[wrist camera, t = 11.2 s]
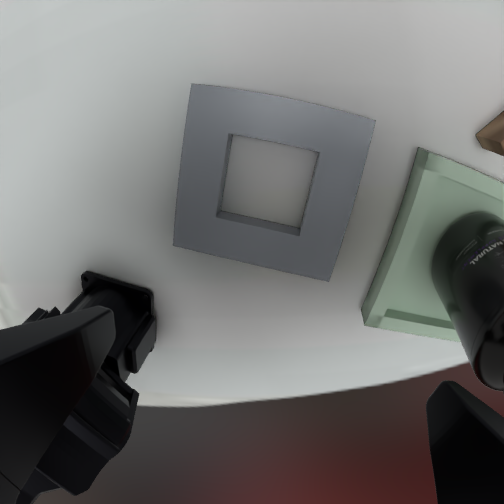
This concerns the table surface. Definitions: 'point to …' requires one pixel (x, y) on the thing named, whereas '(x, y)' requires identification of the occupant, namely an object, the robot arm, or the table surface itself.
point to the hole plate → (281, 131)
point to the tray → (426, 244)
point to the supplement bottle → (475, 291)
